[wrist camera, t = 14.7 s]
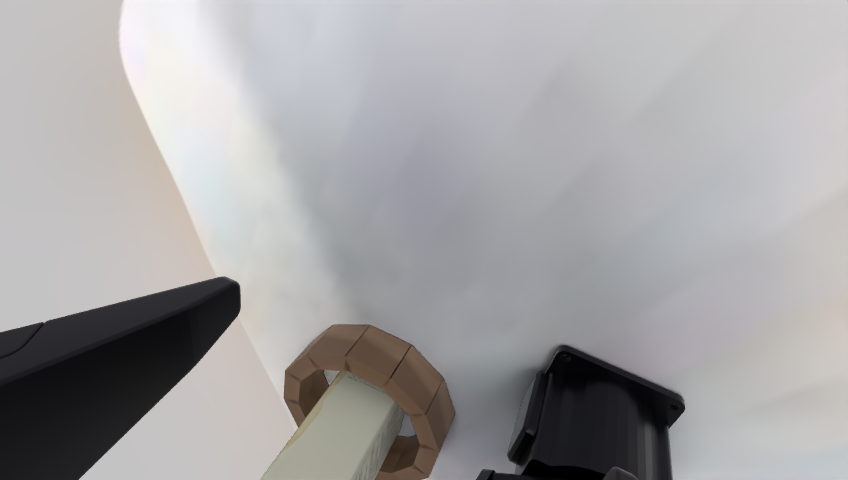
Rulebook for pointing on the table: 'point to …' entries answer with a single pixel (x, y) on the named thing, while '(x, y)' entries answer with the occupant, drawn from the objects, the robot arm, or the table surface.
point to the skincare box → (341, 434)
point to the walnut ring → (389, 370)
